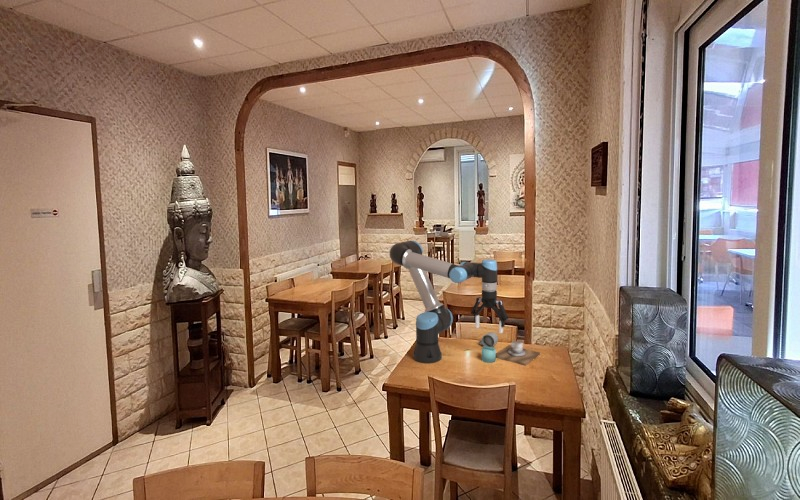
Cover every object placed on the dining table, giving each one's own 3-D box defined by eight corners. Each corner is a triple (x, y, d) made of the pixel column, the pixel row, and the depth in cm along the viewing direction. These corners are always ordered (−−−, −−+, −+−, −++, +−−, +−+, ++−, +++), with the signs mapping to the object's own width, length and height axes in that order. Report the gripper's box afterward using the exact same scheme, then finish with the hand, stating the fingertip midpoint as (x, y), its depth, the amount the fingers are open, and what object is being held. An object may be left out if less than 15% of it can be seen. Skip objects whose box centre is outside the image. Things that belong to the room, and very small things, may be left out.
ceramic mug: (498, 344, 238) (498, 331, 237) (494, 349, 231) (494, 335, 230) (481, 341, 243) (480, 329, 242) (476, 346, 236) (476, 333, 235)
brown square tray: (493, 357, 220) (493, 344, 219) (508, 347, 234) (509, 335, 233) (525, 365, 209) (525, 352, 208) (539, 354, 222) (540, 342, 221)
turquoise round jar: (478, 360, 216) (479, 348, 215) (485, 356, 222) (485, 344, 221) (491, 364, 212) (491, 351, 211) (498, 359, 217) (498, 347, 216)
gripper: (464, 288, 217) (464, 327, 220) (508, 294, 201) (508, 337, 203) (471, 285, 222) (471, 323, 225) (515, 291, 206) (514, 333, 209)
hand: (489, 330), depth 214 cm, fingers open, 13 cm apart
